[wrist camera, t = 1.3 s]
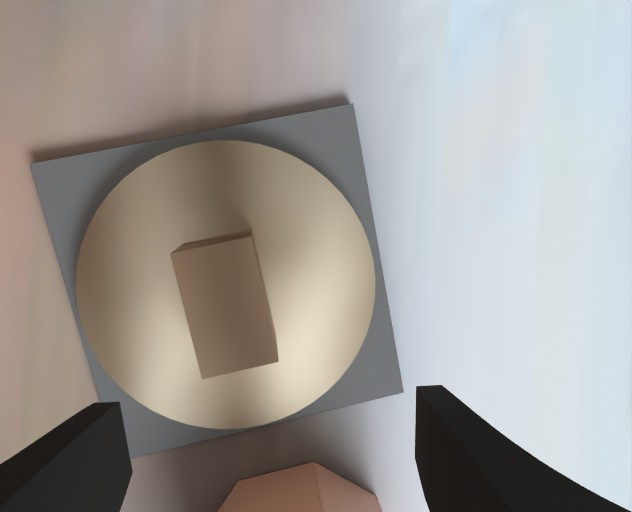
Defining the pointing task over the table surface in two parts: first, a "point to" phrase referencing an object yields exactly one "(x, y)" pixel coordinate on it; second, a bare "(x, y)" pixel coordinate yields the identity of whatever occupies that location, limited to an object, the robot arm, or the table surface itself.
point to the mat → (280, 133)
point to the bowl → (299, 493)
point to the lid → (225, 284)
